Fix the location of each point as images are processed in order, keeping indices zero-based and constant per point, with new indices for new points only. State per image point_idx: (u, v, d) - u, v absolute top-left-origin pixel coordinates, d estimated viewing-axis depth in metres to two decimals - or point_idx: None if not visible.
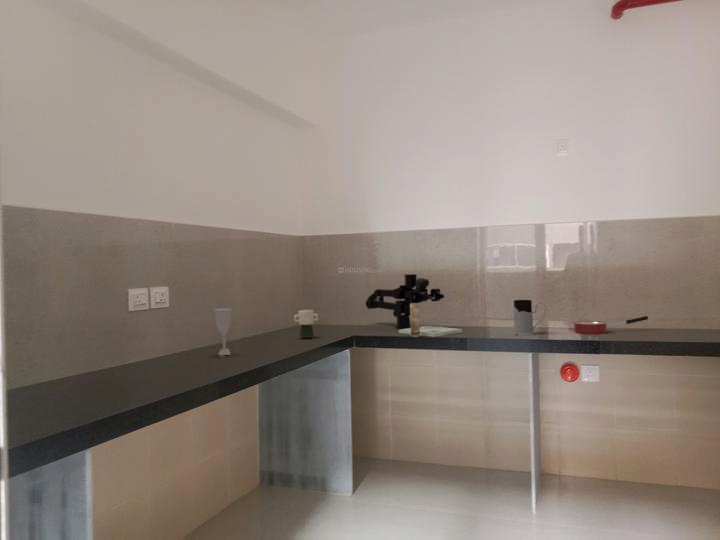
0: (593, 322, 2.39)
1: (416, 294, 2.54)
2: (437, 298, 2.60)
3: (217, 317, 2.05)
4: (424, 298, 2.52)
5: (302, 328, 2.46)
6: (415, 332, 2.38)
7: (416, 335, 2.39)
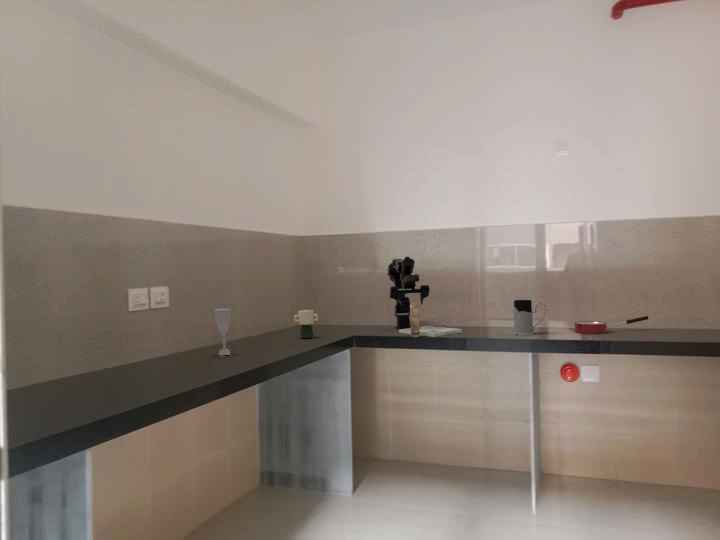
0: (593, 322, 2.39)
1: (395, 293, 2.51)
2: (420, 298, 2.52)
3: (217, 317, 2.05)
4: (399, 301, 2.50)
5: (302, 328, 2.46)
6: (415, 332, 2.38)
7: (416, 335, 2.39)
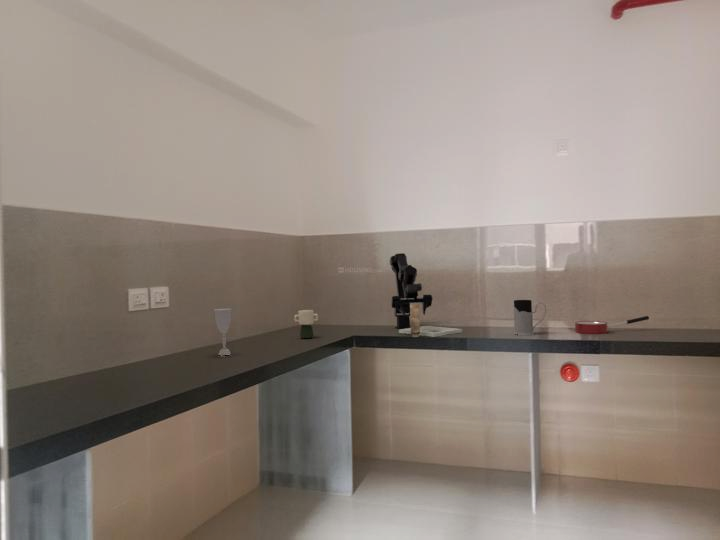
0: (594, 322, 2.39)
1: (396, 303, 2.44)
2: None
3: (217, 317, 2.05)
4: (401, 311, 2.43)
5: (302, 328, 2.46)
6: (415, 332, 2.38)
7: (416, 335, 2.39)
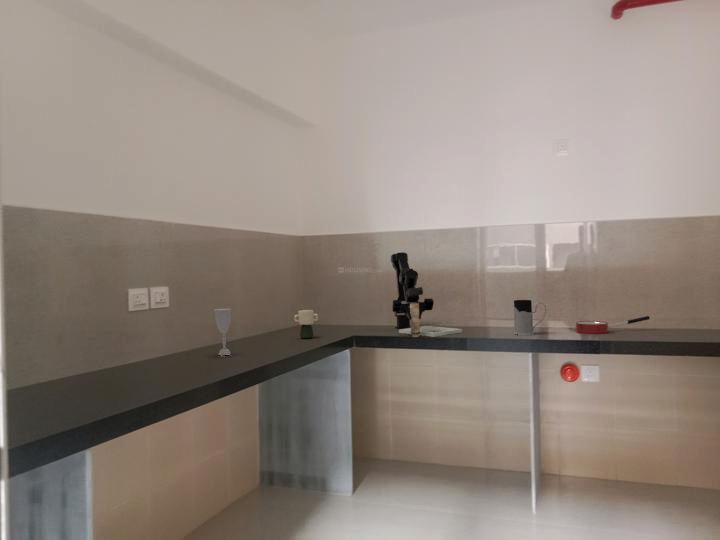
0: (594, 322, 2.39)
1: (403, 306, 2.42)
2: None
3: (217, 317, 2.05)
4: (407, 315, 2.41)
5: (302, 328, 2.46)
6: (415, 332, 2.38)
7: (416, 335, 2.39)
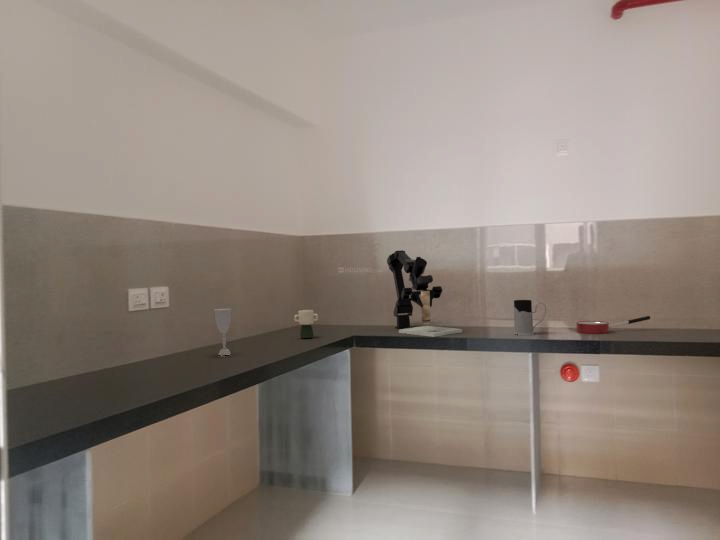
0: (595, 321, 2.39)
1: (413, 294, 2.43)
2: None
3: (217, 317, 2.05)
4: (418, 303, 2.42)
5: (302, 328, 2.46)
6: (427, 319, 2.40)
7: (427, 322, 2.41)
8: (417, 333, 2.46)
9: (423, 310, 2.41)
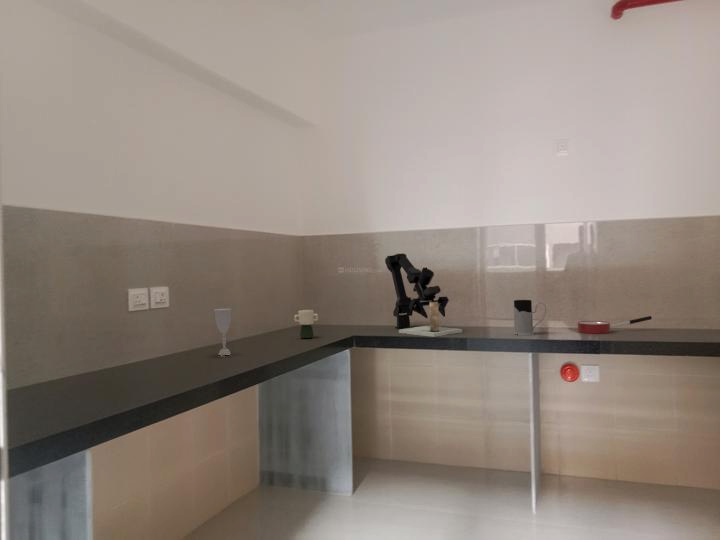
0: (596, 322, 2.39)
1: (417, 305, 2.44)
2: (440, 310, 2.49)
3: (217, 317, 2.05)
4: (422, 314, 2.43)
5: (302, 328, 2.46)
6: (436, 330, 2.43)
7: None
8: (417, 333, 2.46)
9: (432, 321, 2.43)
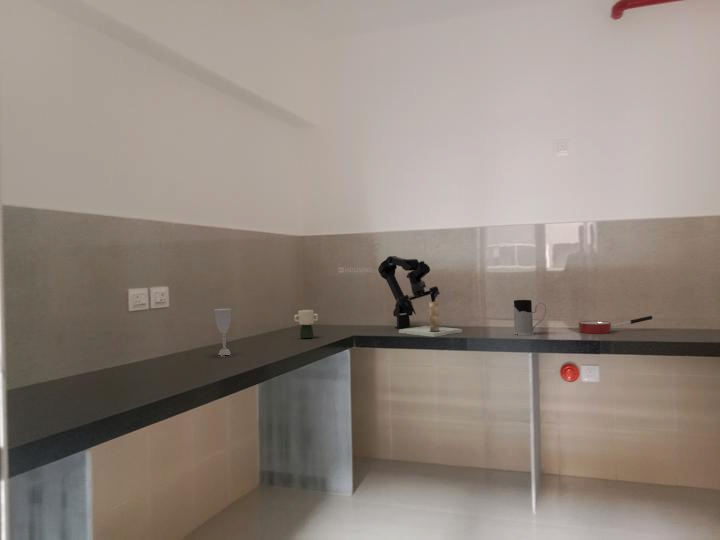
0: (597, 321, 2.39)
1: (406, 303, 2.58)
2: None
3: (217, 317, 2.05)
4: (412, 310, 2.58)
5: (302, 328, 2.46)
6: (436, 330, 2.43)
7: None
8: (417, 333, 2.46)
9: (432, 321, 2.43)
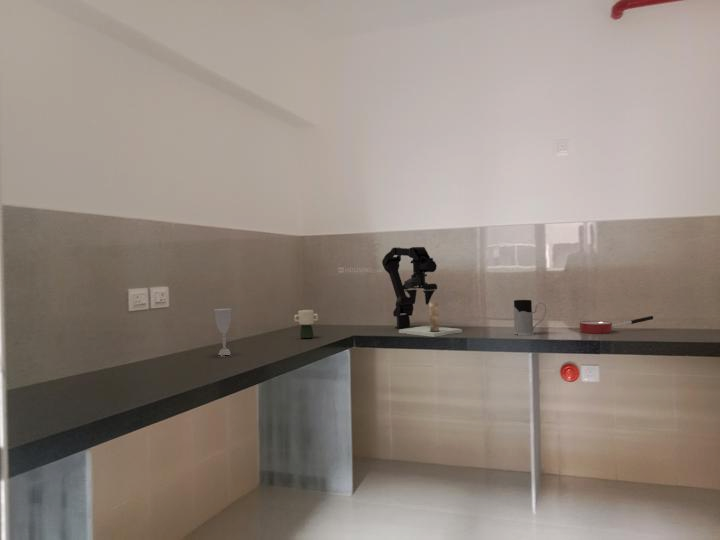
0: (598, 321, 2.39)
1: None
2: None
3: (217, 317, 2.05)
4: None
5: (302, 328, 2.46)
6: (436, 330, 2.43)
7: None
8: (417, 333, 2.46)
9: (432, 321, 2.43)
